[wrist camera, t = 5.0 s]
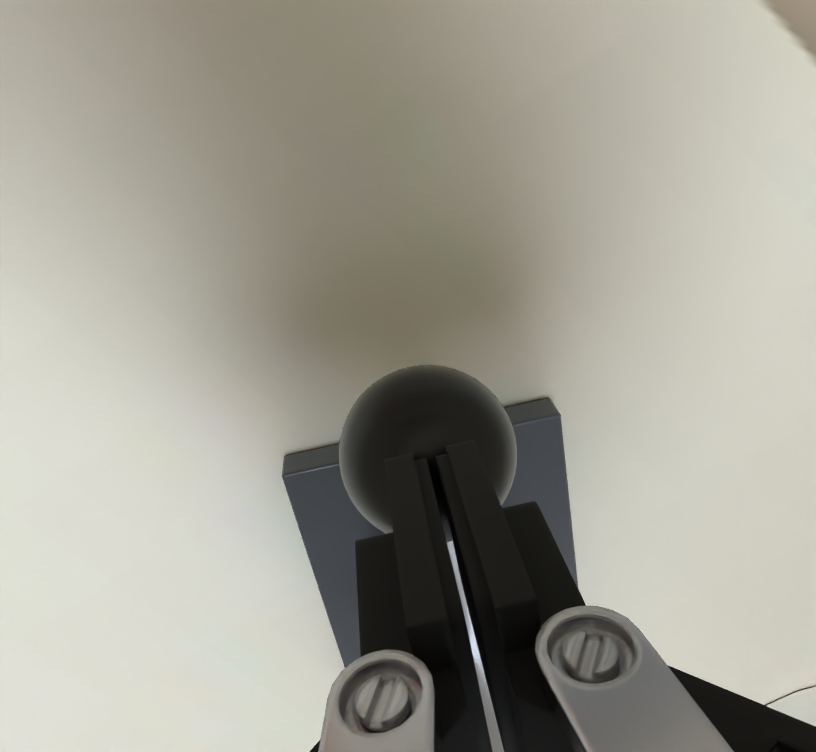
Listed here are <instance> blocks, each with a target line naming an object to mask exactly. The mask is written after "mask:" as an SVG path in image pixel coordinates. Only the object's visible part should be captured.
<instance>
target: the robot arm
mask: <svg viewBox="0 0 816 752" xmlns="http://www.w3.org/2000/svg"><path fill="white" fill-rule="evenodd" d="M446 453H447V454H443V455H439V456H436V461H437V466H438V471H439V476H440V481H441V485H442V490H443V495H444V500H445V505H446V510H447V515H448V520H449V525H450V530H451V535H452V539H453V544H454V549H455V554H456V559H457V564H458V569H459V574H460V578H461V583H462V587H463V591H464V595H465V599H466V603H467V607H468V611H469V615H470V619H471V623H472V627H473V630H474V634H475V638H476V642H477V646H478V650H479V654H480V658H481V662H482V666H483V670H484V674H485V678H486V682H487V686H488V690H489V694H490V698H491V702H492V706H493V710H494V714H495V717H496V721H497V725H498V729H499V733H500V737H501V741H502V745H503V749H504V752H816V726H813V725H811V724H808V723H806V722H803V721H801V720H799V719H796V718H794V717H791V716H789V715H786V714H784V713H782V712H779V711H777V710H774V709H772V708H769V707H767V706H765V705H762V704H760V703H757V702H755V701H753V700H750V699H748V698H745V697H743V696H740V695H738V694H736V693H733V692H731V691H728V690H726V689H723V688H721V687H719V686H716V685H714V684H711V683H709V682H706V681H704V680H702V679H699V678H697V677H694V676H692V675H689V674H687V673H685V672H682V671H680V670H677V669H675V668H673V667H670V666H668V665H666V663H665V662H664V661H663V659H662V658H661V657H660V656H659V654H658V653H657V652H656V650H655V649H654V648H653V646H652V645H651V644H650V643H649V641H648V640H647V639H646V637H645V636H644V635H643V634H642V632H641V631H640V630H639V629H638V628H637V627H636V626H635V625H634V624H633V623H632V622H631V621H630V620H629V619H628V618H626V617H625V616H623V615H621V614H619V613H617V612H615V611H613V610H610V609H606V608H602V607H598V606H586V605H585V603H584V601H583V598H582V596H581V594H580V592H579V590H578V588H577V586H576V584H575V582H574V579H573V577H572V575H571V573H570V571H569V569H568V567H567V565H566V563H565V560H564V558H563V556H562V554H561V552H560V550H559V548H558V546H557V544H556V541H555V539H554V537H553V535H552V533H551V531H550V529H549V527H548V525H547V522H546V520H545V518H544V516H543V514H542V512H541V510H540V508H539V506H538V504H537V503H536V502H535V501H531V502H527V503H522V504H518V505H513V506H509V507H504V508H502V507H501V505H500V502H499V499H498V497H497V494H496V492H495V489H494V487H493V484H492V481H491V479H490V476H489V474H488V471H487V468H486V466H485V463H484V461H483V458H482V456H481V453H480V450H479V448H478V445H477V443H476V441H475V439H474V440H470V441H465V442H460V443H456V444H451V445H447V446H446ZM384 466H385V474H386V481H387V489H388V496H389V504H390V511H391V519H392V526H393V532H392V533H387V534H383V535H378V536H374V537H369V538H365V539H360V540H356V542H355V554H356V574H357V594H358V615H359V635H360V655H361V657H360V658H358V659H356V660H354V661H353V662H352V663H351V664H350V665H348V666H347V667H346V668H345V669H344V670H343V671H341V673H340V674H339V676H338V677H337V679H336V680H335V681H334V683H333V684H332V687H331V690H330V693H329V696H328V699H327V704H326V710H325V716H324V722H323V728H322V733H321V739H320V741H319V742H318V743H317V744H316V745H315V746H314V747H313V749H312V750H311V751H310V752H493V751H492V746H491V741H490V736H489V731H488V727H487V722H486V717H485V712H484V707H483V702H482V698H481V693H480V688H479V683H478V678H477V673H476V669H475V664H474V659H473V654H472V649H471V644H470V640H469V635H468V630H467V625H466V621H465V616H464V612H463V607H462V603H461V599H460V595H459V591H458V586H457V582H456V578H455V574H454V570H453V566H452V562H451V558H450V554H449V550H448V545H447V541H446V537H445V533H444V529H443V525H442V521H441V517H440V513H439V508H438V504H437V500H436V496H435V492H434V488H433V484H432V480H431V476H430V471H429V467H428V463H427V459H426V458H425V459H421V460H416V461H415V460H414V456H413V453H410V454H406V455H401V456H397V457H392V458H388V459H384Z"/></svg>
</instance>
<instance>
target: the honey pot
mask: <svg viewBox="0 0 816 752" xmlns="http://www.w3.org/2000/svg"><path fill="white" fill-rule="evenodd" d="M766 706H767V707H769V708H772V709H774V710H777V711H779V712H782V713H784V714H786V715H789V716H791V717H794V718H796V719H799V720H801V721H803V722H806V723H808V724H811V725H813V726H816V687H812V688H809V689H805V690H801V691H798V692H795V693H793V694H791V695H788V696H786V697H784V698H782V699H780V700H777V701H775V702H773V703H771V704H769V705H766Z"/></svg>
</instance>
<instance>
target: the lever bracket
mask: <svg viewBox="0 0 816 752" xmlns="http://www.w3.org/2000/svg"><path fill="white" fill-rule="evenodd" d="M504 409H505V411H506V413H507V415H508V417H509V419H510V421H511V424H512V426H513V430H514V434H515V438H516V446H517V466H516V472H515V477H514V480H513V483H512V486H511V489H510V491H509V493H508V495H507V498H506V499H505V501H504V503H503V504H502V506H501V507H502V508H504V507H509V506H513V505H518V504H522V503H527V502H531V501H535V502H536V503H537V504H538V506H539V508H540V510H541V512H542V514H543V516H544V518H545V520H546V522H547V525H548V527H549V529H550V531H551V533H552V535H553V537H554V539H555V541H556V544H557V546H558V548H559V550H560V552H561V554H562V556H563V558H564V560H565V563H566V565H567V567H568V569H569V571H570V573H571V575H572V577H573V579H574V582H575V584H576V586H577V588H578V581H577V571H576V562H575V552H574V542H573V532H572V523H571V513H570V503H569V493H568V483H567V474H566V464H565V454H564V444H563V435H562V425H561V415H560V413H559V412H558V410H557V409H556V407H555V406H554V404H553V403H552V401H551V400H550V399H549V398H547V399H542V400H538V401H533V402H529V403H524V404H520V405H515V406H510V407H506V408H504ZM282 478H283V481H284V484H285V487H286V490H287V493H288V496H289V499H290V502H291V505H292V509H293V512H294V515H295V518H296V521H297V524H298V527H299V530H300V533H301V536H302V539H303V542H304V545H305V548H306V551H307V554H308V557H309V560H310V563H311V566H312V569H313V572H314V575H315V578H316V581H317V584H318V588H319V591H320V594H321V597H322V600H323V603H324V606H325V609H326V612H327V615H328V618H329V621H330V624H331V627H332V630H333V633H334V636H335V639H336V642H337V645H338V648H339V651H340V654H341V657H342V660H343V664H344V667H345V668H346V667H347V666H348V665H350V664H351V663H352V662H353V661H354V660H356V659H358V658H360V657H361V655H360V635H359V615H358V594H357V574H356V554H355V542H356V540H360V539H365V538H369V537H374V536H378V535H383V534H385V533H384V532H382V531H381V530H379V529H378V528H376V527H375V526H373V525H372V524H371V523H370V522H369V521H368V520H367V519H365V518H364V517H363V515H362V514H361V513H360V512H359V511H358V510H357V508H356V507H355V505H354V504H353V502H352V501H351V499H350V497H349V495H348V493H347V491H346V489H345V486H344V483H343V480H342V477H341V472H340V466H339V444H338V445H333V446H328V447H324V448H319V449H315V450H310V451H306V452H301V453H297V454H292V455H287V456H285V457H284V463H283V471H282Z"/></svg>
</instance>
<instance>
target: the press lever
mask: <svg viewBox="0 0 816 752" xmlns="http://www.w3.org/2000/svg"><path fill="white" fill-rule="evenodd" d="M474 439H475V441H476V443H477V445H478V448H479V450H480V453H481V456H482V458H483V461H484V463H485V466H486V468H487V471H488V474H489V476H490V479H491V481H492V484H493V487H494V489H495V492H496V494H497V497H498V499H499V502H500V505H501V506H502V504H503V503H504V501H505V499H506V498H507V495H508V493H509V491H510V489H511V486H512V483H513V480H514V477H515V472H516V466H517V446H516V438H515V434H514V430H513V426H512V424H511V421H510V419H509V417H508V415H507V413H506V411H505V409H504V408H503V406H502V404H501V403H500V401H499V400H498V399H497V398H496V396H495V395H494V394H493V393H492V392H491V391H490V390H489V389H488V388H487V387H486V386H484V385H483V384H482V383H480V382H479V381H478V380H476V379H475V378H473V377H471V376H469V375H468V374H466V373H463V372H461V371H458V370H456V369H452V368H448V367H444V366H436V365H419V366H412V367H407V368H404V369H400V370H397V371H395V372H392V373H390V374H388V375H386V376H384V377H383V378H381V379H379V380H378V381H376V382H375V383H374V384H372V385H371V386H370V387H369V388H367V389H366V391H365V392H364V393H363V394H362V395H361V396H360V397H359V398H358V400H357V401H356V402H355V404H354V405H353V407H352V408H351V410H350V412H349V414H348V416H347V418H346V421H345V423H344V426H343V429H342V433H341V437H340V443H339V466H340V472H341V477H342V480H343V483H344V486H345V489H346V491H347V493H348V495H349V497H350V499H351V501H352V502H353V504H354V505H355V507H356V508H357V510H358V511H359V512H360V513H361V514H362V515H363V517H364V518H365V519H367V520H368V521H369V522H370V523H371V524H372V525H373V526H375V527H376V528H378V529H379V530H381V531H382V532H384V533H385V534H387V533H392V532H393V526H392V519H391V511H390V504H389V496H388V489H387V481H386V474H385V466H384V459H388V458H392V457H397V456H401V455H406V454H410V453H413V456H414V460H415V461H416V460H421V459H425V458H426V459H427V463H428V467H429V471H430V476H431V480H432V484H433V488H434V492H435V496H436V500H437V504H438V508H439V513H440V517H441V521H442V525H443V529H444V533H445V537H446V541H447V545H448V550H449V554H450V558H451V562H452V566H453V570H454V574H455V578H456V582H457V586H458V591H459V595H460V599H461V603H462V607H463V612H464V616H465V621H466V625H467V630H468V635H469V640H470V644H471V649H472V654H473V659H474V664H475V669H476V673H477V678H478V683H479V688H480V693H481V698H482V702H483V707H484V712H485V717H486V722H487V727H488V731H489V736H490V741H491V746H492V751H493V752H504V749H503V745H502V741H501V737H500V733H499V729H498V725H497V721H496V717H495V714H494V710H493V706H492V702H491V698H490V694H489V690H488V686H487V682H486V678H485V674H484V670H483V666H482V662H481V658H480V654H479V650H478V646H477V642H476V638H475V634H474V630H473V627H472V623H471V619H470V615H469V611H468V607H467V603H466V599H465V595H464V591H463V587H462V583H461V578H460V574H459V569H458V564H457V559H456V554H455V549H454V544H453V539H452V535H451V530H450V525H449V520H448V515H447V510H446V505H445V500H444V495H443V490H442V485H441V481H440V476H439V471H438V466H437V461H436V456H439V455H443V454H447V453H446V446H447V445H451V444H456V443H460V442H465V441H470V440H474Z"/></svg>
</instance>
